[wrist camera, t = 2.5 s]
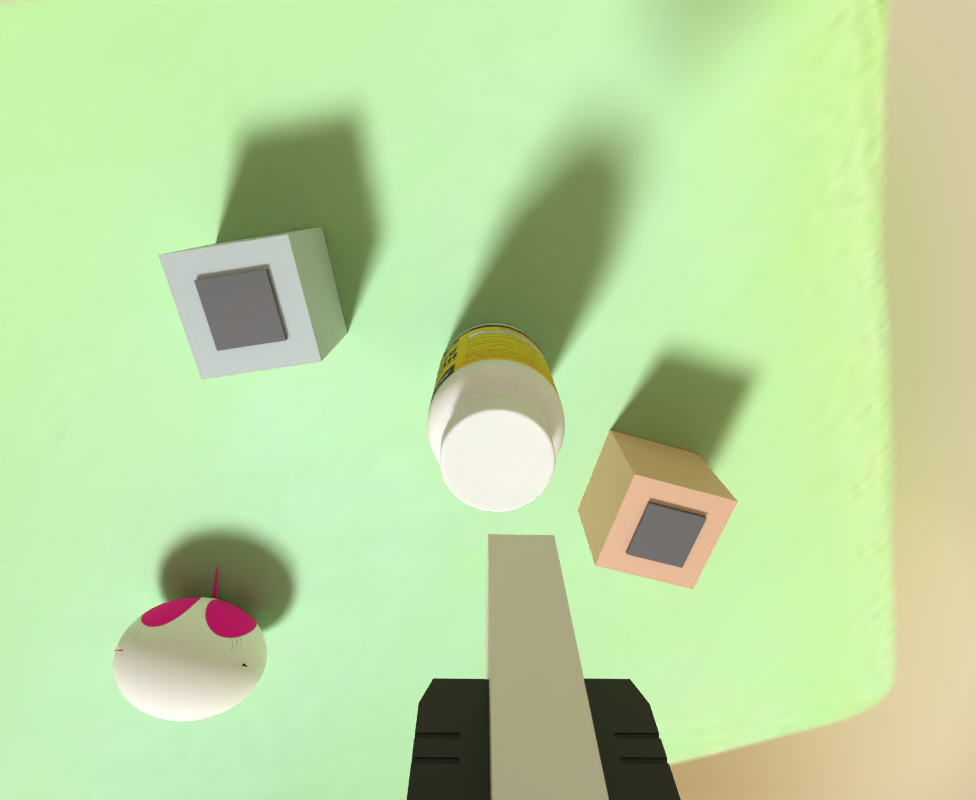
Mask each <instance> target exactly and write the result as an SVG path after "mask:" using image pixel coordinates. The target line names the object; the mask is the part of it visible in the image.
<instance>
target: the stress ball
mask: <svg viewBox="0 0 976 800" xmlns="http://www.w3.org/2000/svg"><path fill="white" fill-rule="evenodd" d="M216 598H217V569H216V575H215V581H214V587H213V594H212V598H206V597H190V598H182V599H176V600H172V601H169V602H166V603H163V604H161V605H158V606H156V607H154V608H152V609H150V610H149V611H147V612H146V613H144V614H143V615H141V616H140V617H139V618H138V619H136V620H135V621H134V622H133V623H132V624H131V625H130V626H129V628H128V629H127V630H126V631H125V633H124V634H123V635H122V637H121V639H120V641H119V643H118V645H117V648H116V650H115V655H114V664H113V668H114V676H115V680H116V683H117V685H118V687H119V689H120V691H121V693H122V694H123V695H124V697H125V698H126V699H127V700H128V701H129V702H130V703H131V704H132V705H134V706H135V707H136V708H138V709H139V710H141V711H143V712H144V713H146V714H149V715H151V716H154V717H157V718H161V719H166V720H172V721H193V720H200V719H204V718H208V717H211V716H215V715H217V714H220V713H222V712H224V711H226V710H228V709H230V708H232V707H233V706H235V705H236V704H238V703H239V702H240V701H241V700H243V699H244V698H245V697H246V696H247V695H248V694H249V693H250V692H251V691H252V690H253V688H254V687H255V686H256V684H257V683H258V681H259V679H260V677H261V675H262V673H263V670H264V667H265V664H266V658H267V649H266V642H265V639H264V635H263V633H262V631H261V629H260V627H259V626H258V624H257V623H256V621H255V620H254V619H253V618H252V617H251V616H250V615H249V614H248V613H246V612H245V611H244V610H242V609H241V608H239V607H237V606H235V605H233V604H231V603H228V602H226V601H222V600H219V599H216Z"/></svg>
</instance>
